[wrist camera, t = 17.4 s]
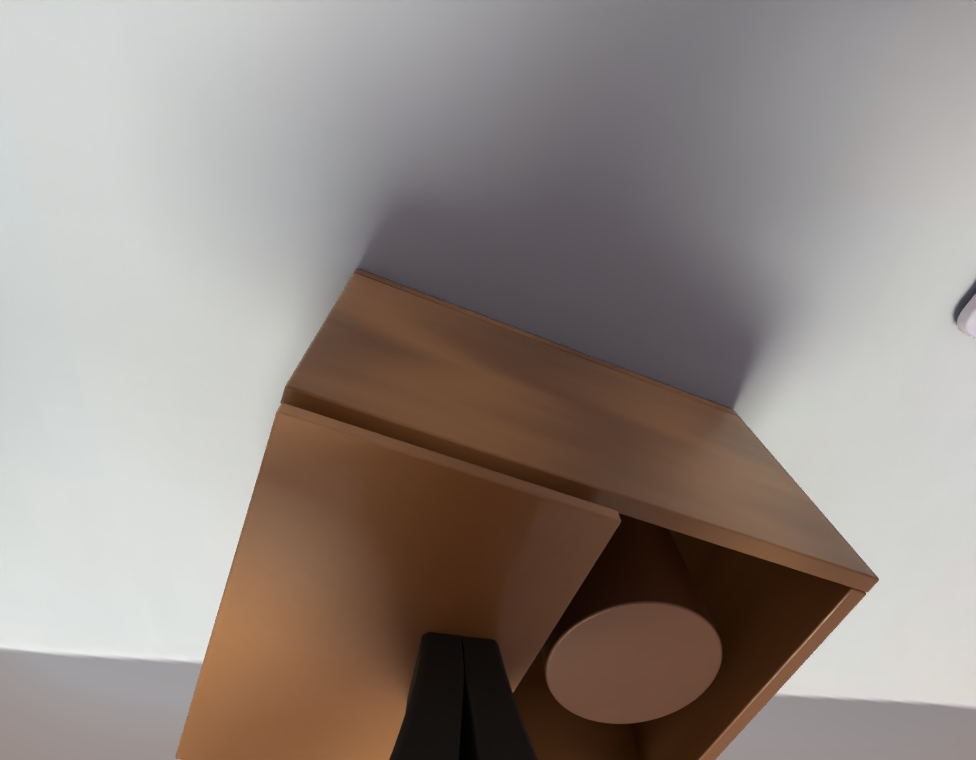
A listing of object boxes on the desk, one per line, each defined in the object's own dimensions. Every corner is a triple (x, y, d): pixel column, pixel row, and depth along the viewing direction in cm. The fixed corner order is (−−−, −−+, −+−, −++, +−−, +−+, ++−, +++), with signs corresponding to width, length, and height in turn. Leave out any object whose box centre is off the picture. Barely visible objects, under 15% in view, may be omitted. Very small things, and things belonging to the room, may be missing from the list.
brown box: (275, 518, 19) (184, 726, 13) (356, 267, 15) (285, 385, 9) (601, 609, 21) (659, 822, 15) (734, 409, 18) (881, 579, 12)
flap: (180, 744, 12) (174, 758, 12) (282, 401, 9) (275, 411, 9) (439, 796, 13) (439, 811, 13) (618, 510, 10) (622, 521, 10)
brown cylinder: (670, 469, 18) (758, 629, 13) (610, 562, 20) (666, 739, 14) (553, 430, 17) (595, 581, 12) (500, 530, 19) (516, 704, 13)
